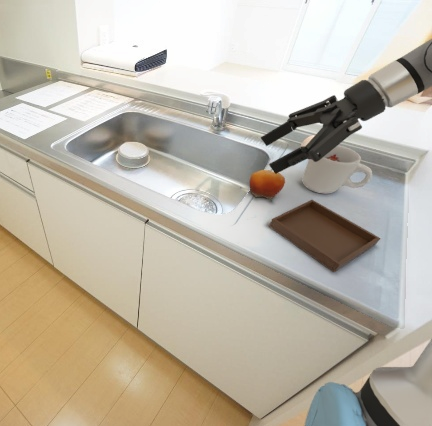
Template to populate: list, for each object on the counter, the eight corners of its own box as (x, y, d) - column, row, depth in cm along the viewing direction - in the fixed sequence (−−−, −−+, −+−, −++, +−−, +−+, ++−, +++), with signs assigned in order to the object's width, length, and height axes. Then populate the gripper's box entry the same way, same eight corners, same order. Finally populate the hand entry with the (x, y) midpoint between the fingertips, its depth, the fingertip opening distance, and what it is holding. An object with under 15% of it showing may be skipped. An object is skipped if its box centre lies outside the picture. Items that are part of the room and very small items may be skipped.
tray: (374, 246, 60) (381, 238, 58) (333, 272, 55) (339, 264, 54) (307, 206, 70) (311, 199, 69) (268, 226, 65) (272, 218, 64)
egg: (294, 151, 91) (302, 132, 86) (309, 151, 91) (318, 132, 86) (301, 159, 87) (311, 139, 83) (317, 159, 87) (327, 139, 83)
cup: (359, 189, 75) (382, 155, 68) (353, 209, 69) (378, 173, 62) (302, 172, 82) (318, 139, 75) (292, 188, 76) (308, 154, 69)
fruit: (249, 199, 71) (256, 168, 69) (243, 196, 78) (249, 168, 77) (284, 204, 69) (292, 172, 67) (275, 201, 76) (282, 172, 75)
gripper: (417, 135, 47) (285, 194, 60) (359, 88, 65) (267, 142, 78) (401, 101, 44) (267, 170, 57) (345, 62, 63) (253, 122, 76)
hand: (267, 154), depth 68 cm, fingers open, 13 cm apart
